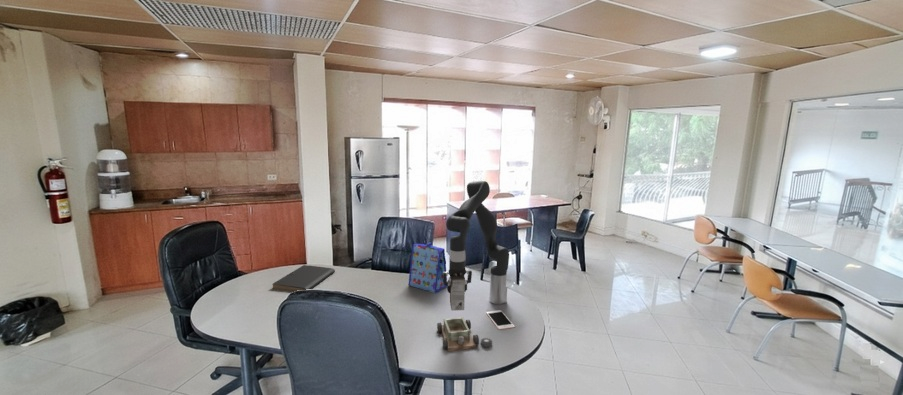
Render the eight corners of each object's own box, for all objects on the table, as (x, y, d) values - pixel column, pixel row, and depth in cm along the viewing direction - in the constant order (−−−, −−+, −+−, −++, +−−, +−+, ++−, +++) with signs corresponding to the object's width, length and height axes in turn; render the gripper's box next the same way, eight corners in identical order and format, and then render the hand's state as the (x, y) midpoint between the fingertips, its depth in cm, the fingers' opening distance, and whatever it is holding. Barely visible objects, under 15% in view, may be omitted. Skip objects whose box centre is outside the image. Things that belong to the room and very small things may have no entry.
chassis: (468, 325, 188) (468, 315, 187) (479, 347, 169) (479, 336, 168) (436, 328, 185) (436, 318, 184) (444, 351, 166) (444, 340, 165)
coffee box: (449, 301, 180) (449, 270, 177) (462, 301, 181) (462, 270, 178) (450, 310, 171) (451, 278, 168) (464, 310, 172) (465, 277, 169)
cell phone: (498, 330, 184) (498, 328, 184) (485, 313, 201) (485, 311, 201) (515, 328, 187) (515, 326, 187) (500, 311, 204) (500, 309, 204)
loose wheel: (489, 341, 174) (490, 337, 174) (493, 347, 169) (493, 343, 169) (479, 342, 173) (479, 338, 173) (482, 348, 168) (482, 344, 168)
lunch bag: (447, 286, 234) (448, 243, 229) (435, 294, 223) (435, 248, 218) (420, 278, 246) (420, 237, 241) (407, 285, 235) (407, 242, 229)
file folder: (303, 264, 259) (334, 268, 254) (303, 270, 260) (335, 273, 255) (271, 283, 227) (307, 287, 222) (272, 289, 228) (307, 294, 223)
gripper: (470, 254, 177) (469, 287, 180) (440, 256, 174) (440, 289, 177) (474, 260, 170) (473, 293, 173) (443, 262, 167) (443, 296, 170)
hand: (456, 291), depth 175 cm, fingers closed on coffee box, 7 cm apart
